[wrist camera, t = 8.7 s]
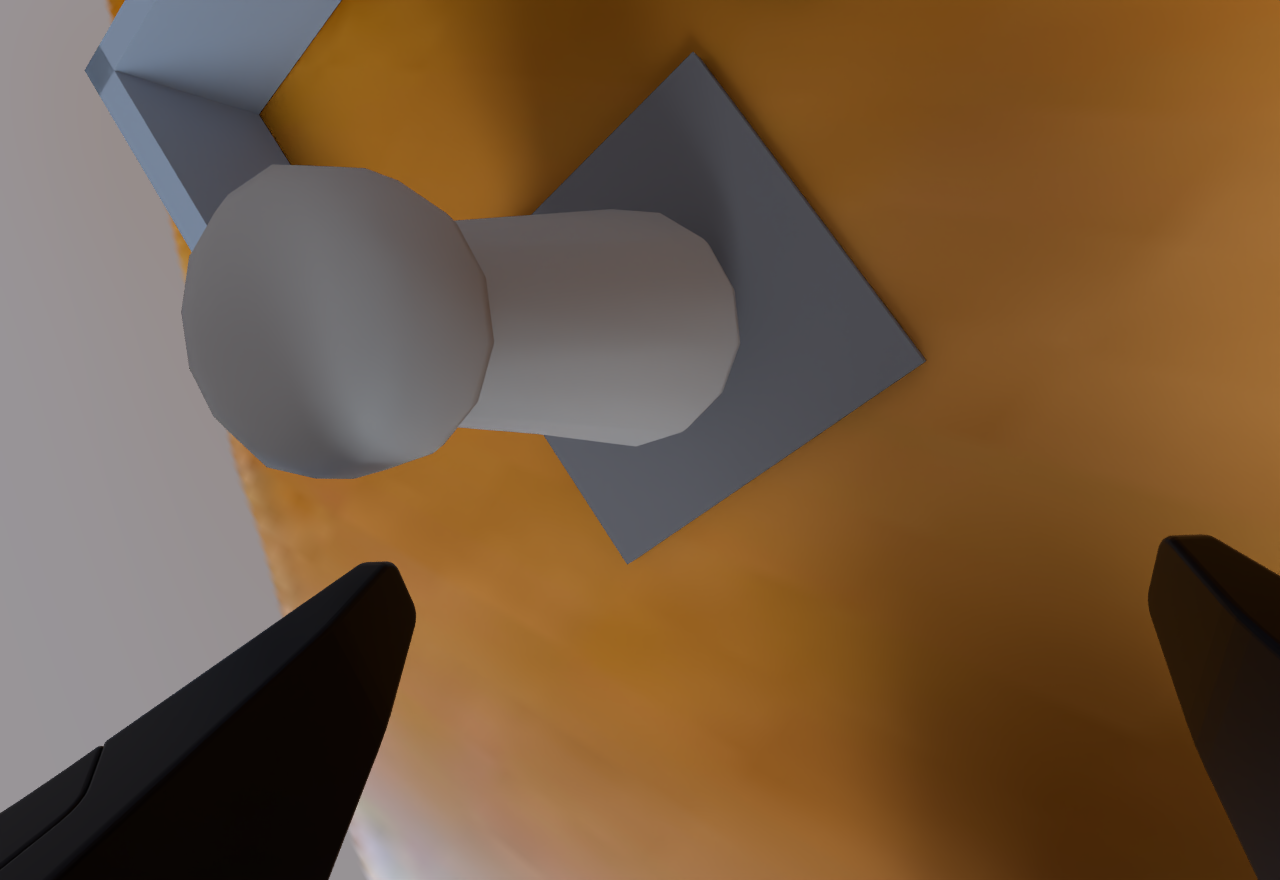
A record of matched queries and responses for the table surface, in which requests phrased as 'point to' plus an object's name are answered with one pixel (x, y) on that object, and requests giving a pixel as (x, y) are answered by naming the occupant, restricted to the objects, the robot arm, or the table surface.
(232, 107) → the cradle
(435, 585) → the table surface
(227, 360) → the salt shaker
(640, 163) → the coaster
